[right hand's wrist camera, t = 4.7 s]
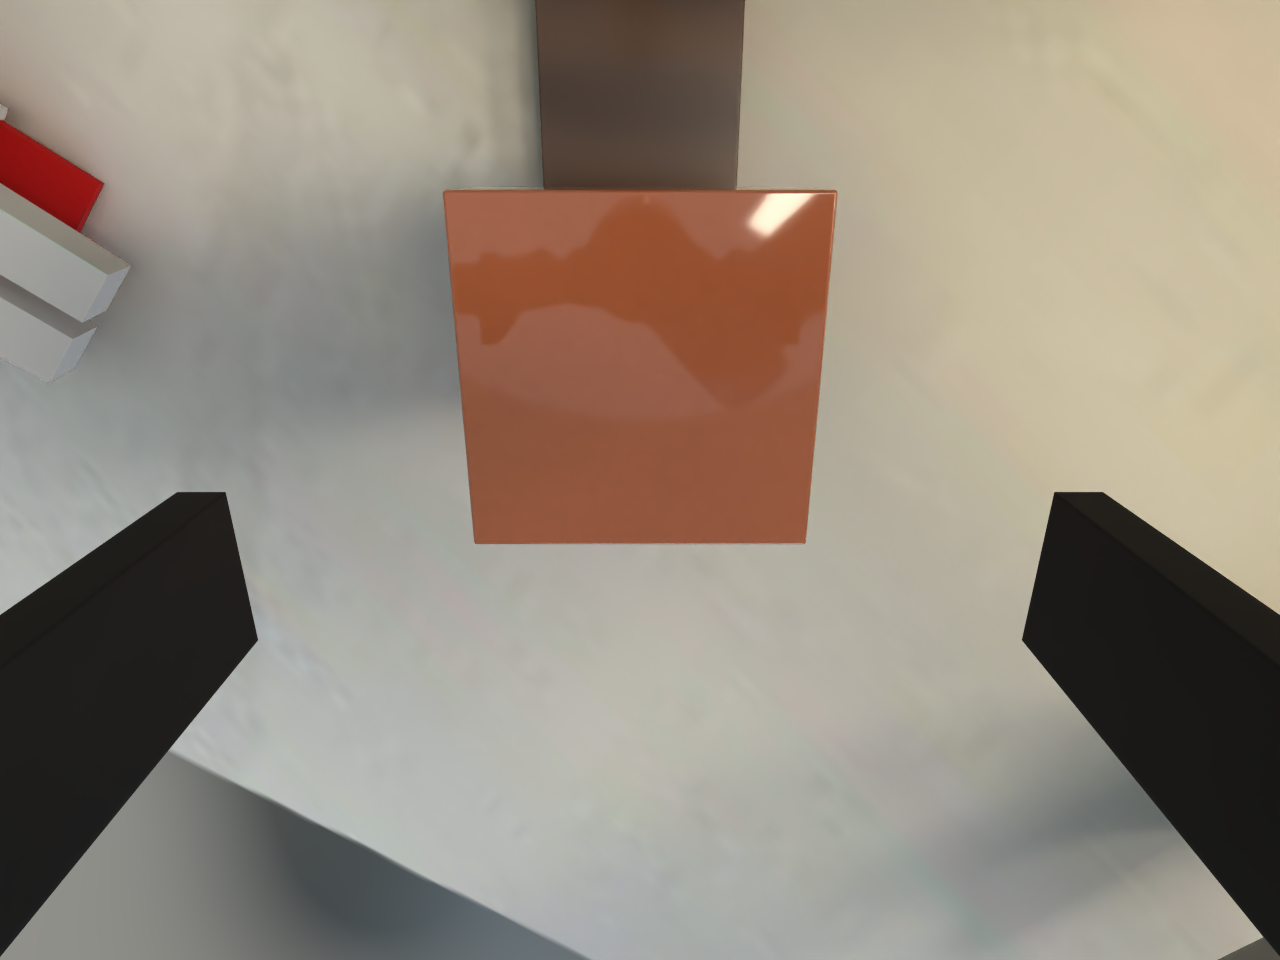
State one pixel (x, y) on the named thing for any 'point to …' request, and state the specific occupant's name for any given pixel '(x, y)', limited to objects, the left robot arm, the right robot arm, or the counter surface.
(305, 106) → the counter surface
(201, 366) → the counter surface
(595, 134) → the caddy
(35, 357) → the toy
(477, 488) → the orange square block
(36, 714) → the right robot arm
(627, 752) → the counter surface
